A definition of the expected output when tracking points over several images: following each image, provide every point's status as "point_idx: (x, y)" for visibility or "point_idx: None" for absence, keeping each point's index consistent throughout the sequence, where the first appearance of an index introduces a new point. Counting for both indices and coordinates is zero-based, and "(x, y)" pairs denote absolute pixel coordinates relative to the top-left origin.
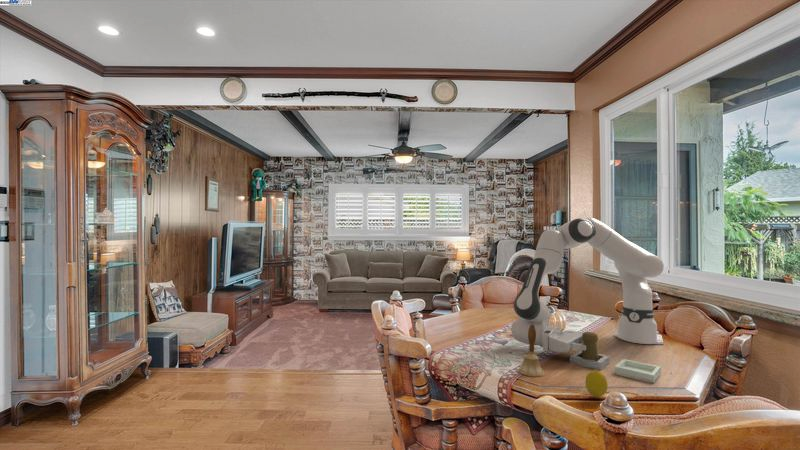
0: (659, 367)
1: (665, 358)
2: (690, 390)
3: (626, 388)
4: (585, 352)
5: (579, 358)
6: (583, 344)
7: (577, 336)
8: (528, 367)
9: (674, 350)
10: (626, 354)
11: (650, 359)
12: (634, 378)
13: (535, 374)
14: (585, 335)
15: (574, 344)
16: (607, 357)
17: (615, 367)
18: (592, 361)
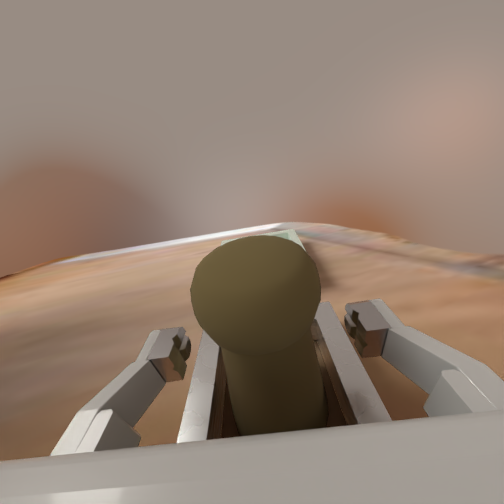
0: (229, 240)
1: (94, 282)
2: (276, 224)
3: (384, 248)
4: (317, 366)
5: (382, 402)
6: (366, 315)
7: (192, 466)
8: None
9: (13, 293)
10: (62, 345)
11: (112, 293)
12: None
13: None
14: (314, 269)
15: (478, 367)
16: None
17: None
18: (342, 330)
